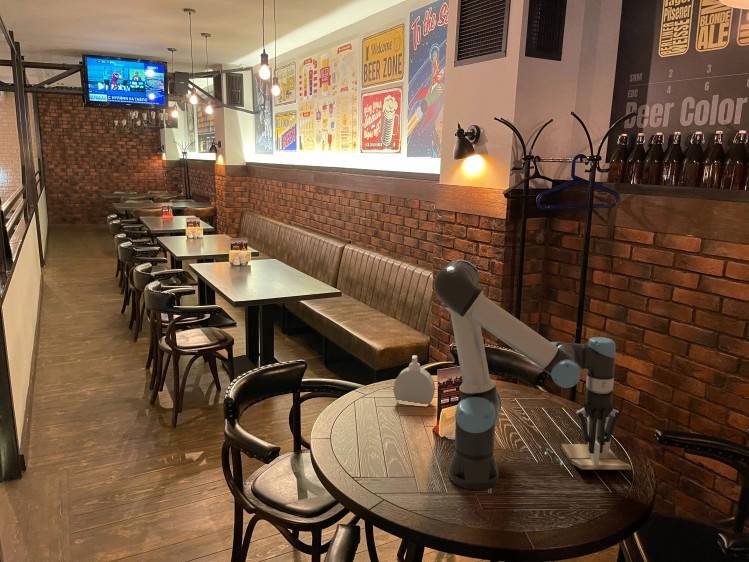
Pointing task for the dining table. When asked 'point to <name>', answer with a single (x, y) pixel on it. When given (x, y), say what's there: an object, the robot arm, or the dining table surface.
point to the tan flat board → (583, 452)
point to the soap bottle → (414, 384)
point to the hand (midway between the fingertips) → (594, 462)
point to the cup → (605, 447)
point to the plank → (600, 464)
